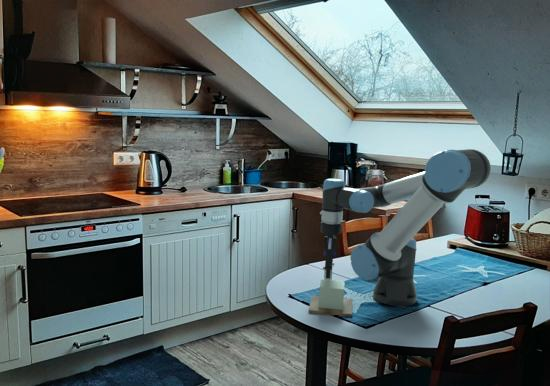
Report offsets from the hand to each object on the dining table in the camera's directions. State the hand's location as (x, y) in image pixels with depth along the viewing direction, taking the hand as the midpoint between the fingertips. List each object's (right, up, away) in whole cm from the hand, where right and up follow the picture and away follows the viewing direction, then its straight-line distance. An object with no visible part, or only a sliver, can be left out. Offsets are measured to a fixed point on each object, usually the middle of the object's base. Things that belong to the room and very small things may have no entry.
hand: (327, 284), depth 199 cm
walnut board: (0, -5, -17) cm, 17 cm away
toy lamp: (0, -2, 0) cm, 2 cm away
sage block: (0, -4, -17) cm, 17 cm away
